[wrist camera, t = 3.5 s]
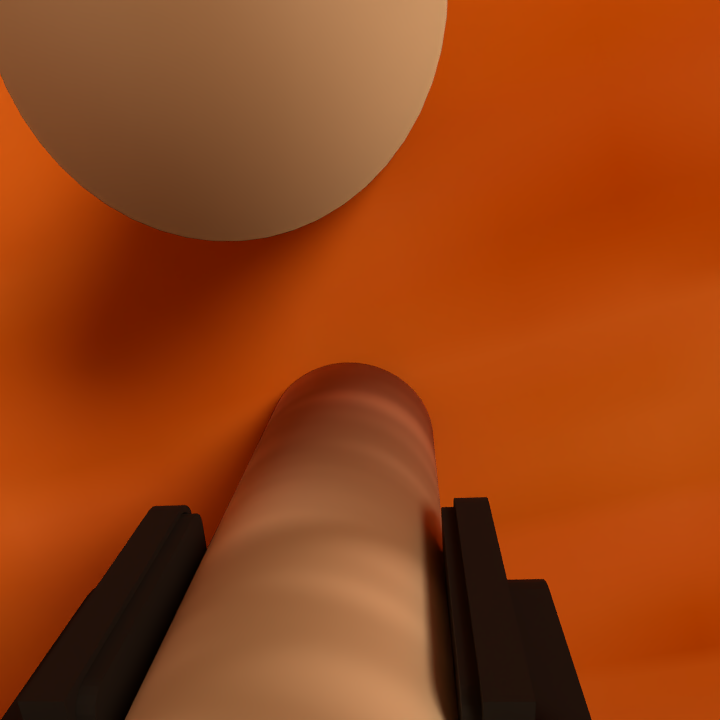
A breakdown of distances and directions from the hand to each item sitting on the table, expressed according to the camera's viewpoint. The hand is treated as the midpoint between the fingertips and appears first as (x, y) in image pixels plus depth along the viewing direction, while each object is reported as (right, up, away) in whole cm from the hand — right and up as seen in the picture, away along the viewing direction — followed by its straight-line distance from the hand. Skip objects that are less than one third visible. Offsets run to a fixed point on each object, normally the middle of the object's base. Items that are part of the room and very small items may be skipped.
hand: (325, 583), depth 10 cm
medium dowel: (0, +9, +2) cm, 10 cm away
